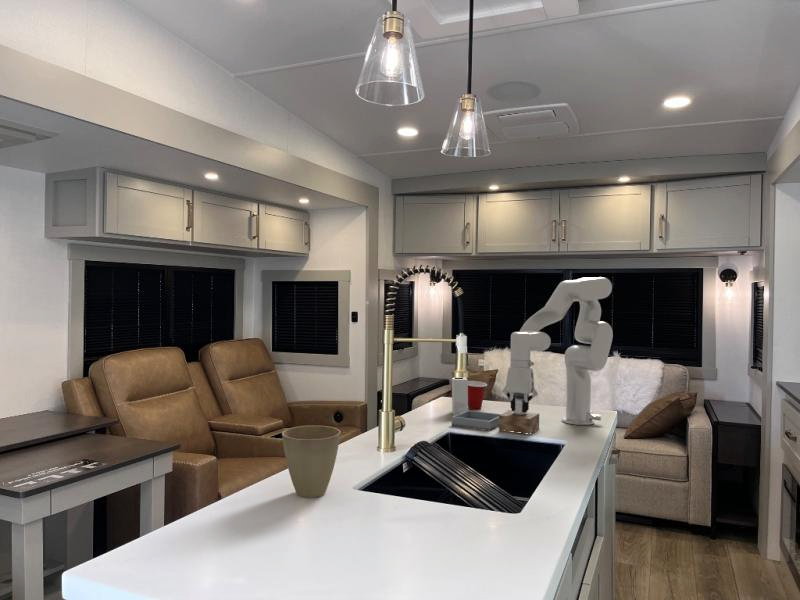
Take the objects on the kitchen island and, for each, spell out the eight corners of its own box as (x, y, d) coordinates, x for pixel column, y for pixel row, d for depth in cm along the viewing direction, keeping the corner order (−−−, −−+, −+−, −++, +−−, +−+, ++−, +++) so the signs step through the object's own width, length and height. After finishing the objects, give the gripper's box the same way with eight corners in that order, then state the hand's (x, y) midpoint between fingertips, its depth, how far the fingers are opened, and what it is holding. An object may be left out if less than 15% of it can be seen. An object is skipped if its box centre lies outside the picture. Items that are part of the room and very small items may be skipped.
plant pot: (276, 487, 156) (277, 427, 155) (331, 481, 161) (332, 423, 161) (286, 506, 142) (287, 440, 142) (346, 499, 147) (347, 436, 147)
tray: (504, 423, 238) (504, 414, 238) (489, 430, 224) (489, 421, 224) (467, 418, 246) (468, 410, 246) (451, 425, 232) (451, 416, 232)
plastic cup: (476, 412, 261) (476, 385, 261) (458, 408, 269) (458, 382, 269) (491, 409, 268) (492, 382, 268) (474, 405, 276) (474, 380, 276)
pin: (527, 429, 228) (527, 391, 228) (523, 431, 223) (523, 393, 223) (515, 427, 230) (515, 390, 230) (511, 430, 226) (511, 392, 226)
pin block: (539, 428, 229) (539, 413, 229) (529, 434, 219) (529, 418, 219) (509, 425, 235) (509, 410, 235) (499, 430, 225) (499, 415, 225)
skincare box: (468, 416, 252) (468, 379, 251) (452, 415, 252) (453, 379, 252) (466, 412, 260) (466, 377, 260) (451, 411, 260) (451, 376, 260)
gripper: (544, 364, 226) (543, 412, 226) (503, 361, 234) (502, 407, 234) (538, 366, 219) (537, 415, 219) (496, 363, 228) (495, 410, 228)
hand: (519, 410), depth 227 cm, fingers closed on pin, 4 cm apart
